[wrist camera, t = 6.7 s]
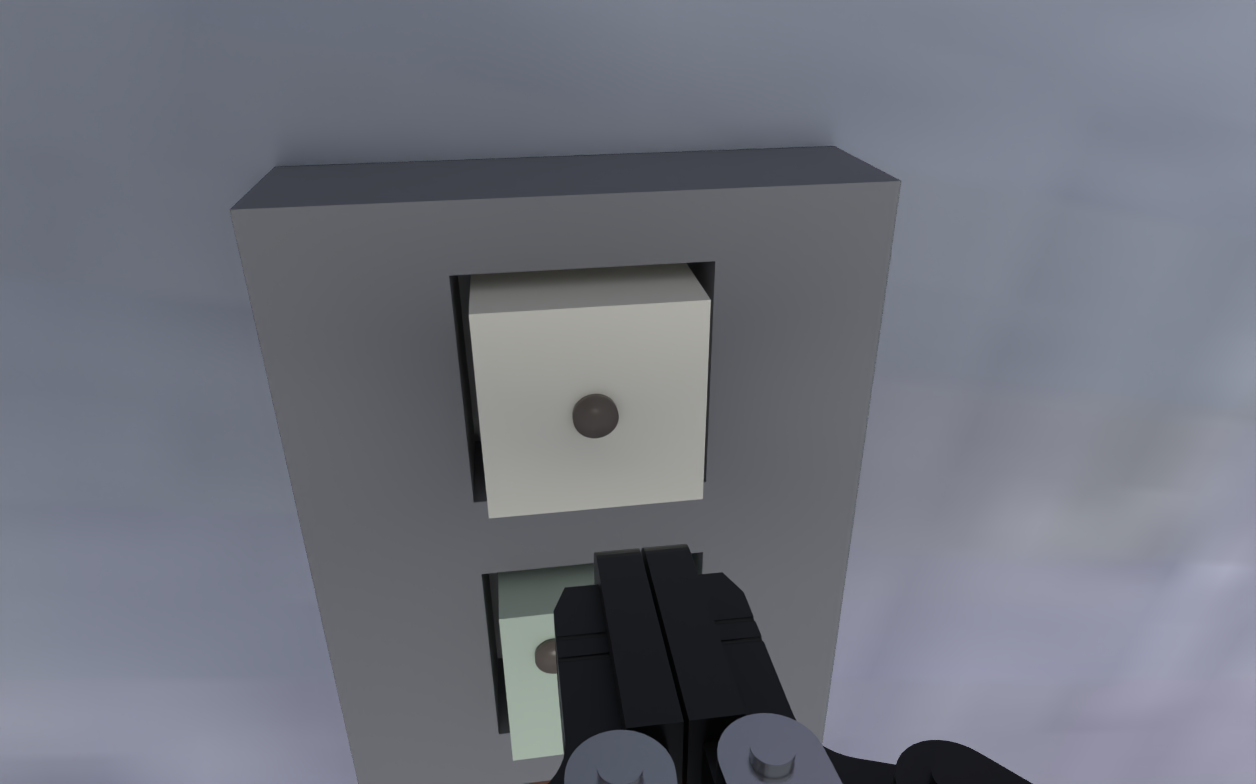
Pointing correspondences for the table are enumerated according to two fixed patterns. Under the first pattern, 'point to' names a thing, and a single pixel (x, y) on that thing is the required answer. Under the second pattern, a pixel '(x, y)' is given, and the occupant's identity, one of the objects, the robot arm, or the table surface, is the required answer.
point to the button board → (449, 421)
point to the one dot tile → (590, 386)
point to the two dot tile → (534, 654)
